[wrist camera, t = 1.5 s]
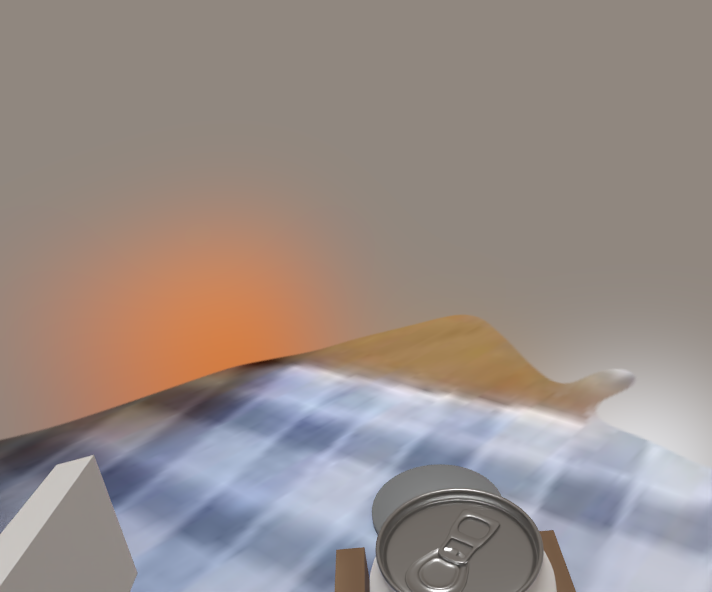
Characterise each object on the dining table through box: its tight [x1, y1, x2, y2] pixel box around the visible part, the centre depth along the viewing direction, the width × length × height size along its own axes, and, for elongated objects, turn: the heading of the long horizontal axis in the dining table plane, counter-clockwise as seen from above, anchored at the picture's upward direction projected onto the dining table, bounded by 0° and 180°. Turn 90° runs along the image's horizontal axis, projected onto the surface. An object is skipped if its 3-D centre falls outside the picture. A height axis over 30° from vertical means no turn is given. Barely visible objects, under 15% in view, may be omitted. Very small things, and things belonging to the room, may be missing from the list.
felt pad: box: [372, 465, 501, 534], centre depth 41 cm, size 8×8×1 cm
